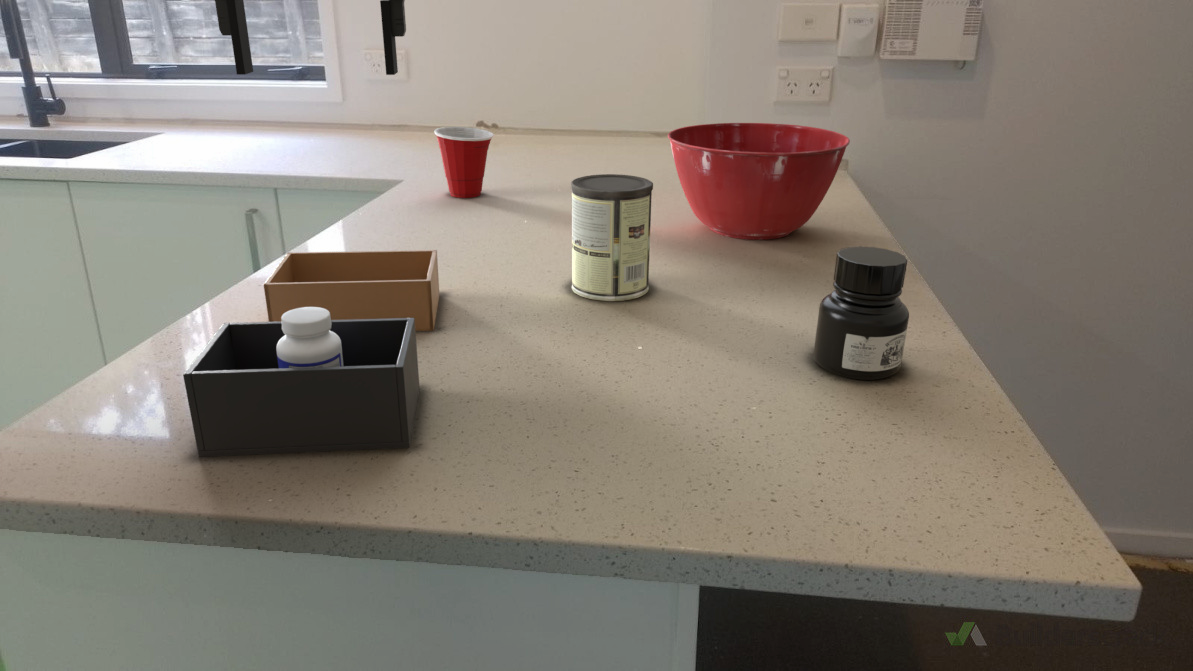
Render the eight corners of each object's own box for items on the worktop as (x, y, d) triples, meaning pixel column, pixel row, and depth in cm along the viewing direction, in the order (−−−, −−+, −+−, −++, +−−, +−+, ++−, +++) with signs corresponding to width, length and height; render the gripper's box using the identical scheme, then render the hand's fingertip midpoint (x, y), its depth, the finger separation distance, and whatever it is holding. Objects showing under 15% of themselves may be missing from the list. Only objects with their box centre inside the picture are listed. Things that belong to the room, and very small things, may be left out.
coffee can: (590, 271, 117) (592, 170, 111) (660, 283, 113) (665, 178, 107) (556, 294, 108) (556, 185, 103) (630, 307, 104) (634, 194, 99)
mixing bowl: (692, 258, 124) (699, 152, 118) (644, 210, 149) (648, 122, 143) (869, 250, 129) (884, 148, 123) (793, 205, 155) (802, 120, 149)
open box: (198, 457, 70) (182, 374, 67) (236, 396, 80) (223, 322, 77) (409, 448, 71) (403, 367, 69) (419, 390, 82) (414, 317, 79)
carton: (270, 335, 94) (263, 284, 92) (293, 298, 105) (287, 252, 103) (433, 330, 96) (430, 280, 94) (439, 295, 107) (436, 249, 105)
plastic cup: (482, 203, 152) (480, 136, 148) (427, 198, 155) (423, 133, 150) (503, 190, 162) (502, 127, 157) (452, 186, 165) (449, 124, 160)
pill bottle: (290, 403, 77) (276, 304, 74) (351, 399, 78) (340, 301, 75) (281, 431, 72) (266, 327, 69) (346, 427, 73) (334, 324, 70)
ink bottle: (856, 390, 83) (873, 275, 79) (792, 358, 90) (805, 251, 85) (920, 369, 88) (940, 260, 83) (855, 341, 95) (870, 238, 90)
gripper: (441, -175, 76) (454, 70, 84) (154, -183, 74) (196, 69, 82) (434, -191, 69) (449, 77, 77) (118, -201, 67) (167, 76, 75)
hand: (319, 73), depth 80 cm, fingers open, 13 cm apart
